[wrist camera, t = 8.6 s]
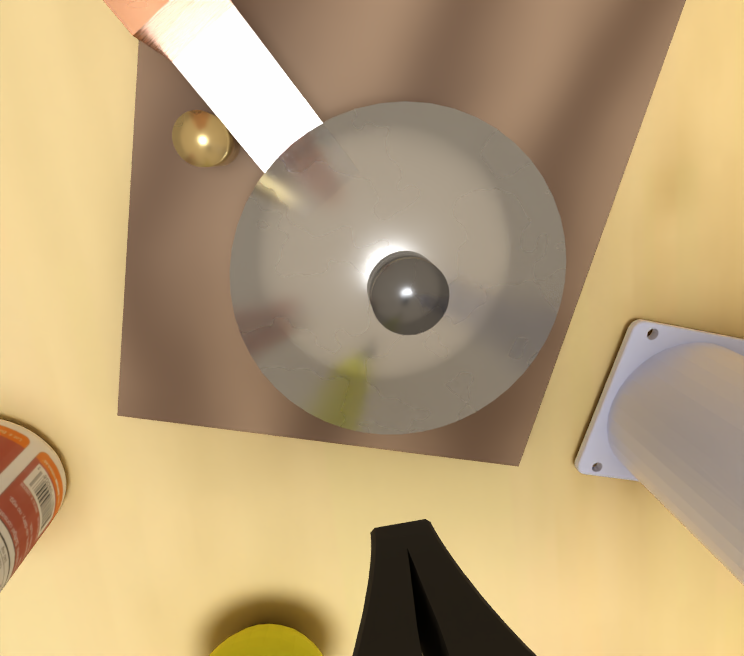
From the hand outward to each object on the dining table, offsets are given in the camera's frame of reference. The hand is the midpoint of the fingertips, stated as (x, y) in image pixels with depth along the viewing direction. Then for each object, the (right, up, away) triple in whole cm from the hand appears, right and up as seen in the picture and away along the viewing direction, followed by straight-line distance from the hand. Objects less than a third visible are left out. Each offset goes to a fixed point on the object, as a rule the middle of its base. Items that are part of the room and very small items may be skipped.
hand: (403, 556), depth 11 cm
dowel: (-6, +12, +6) cm, 15 cm away
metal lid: (-2, +10, +6) cm, 12 cm away
